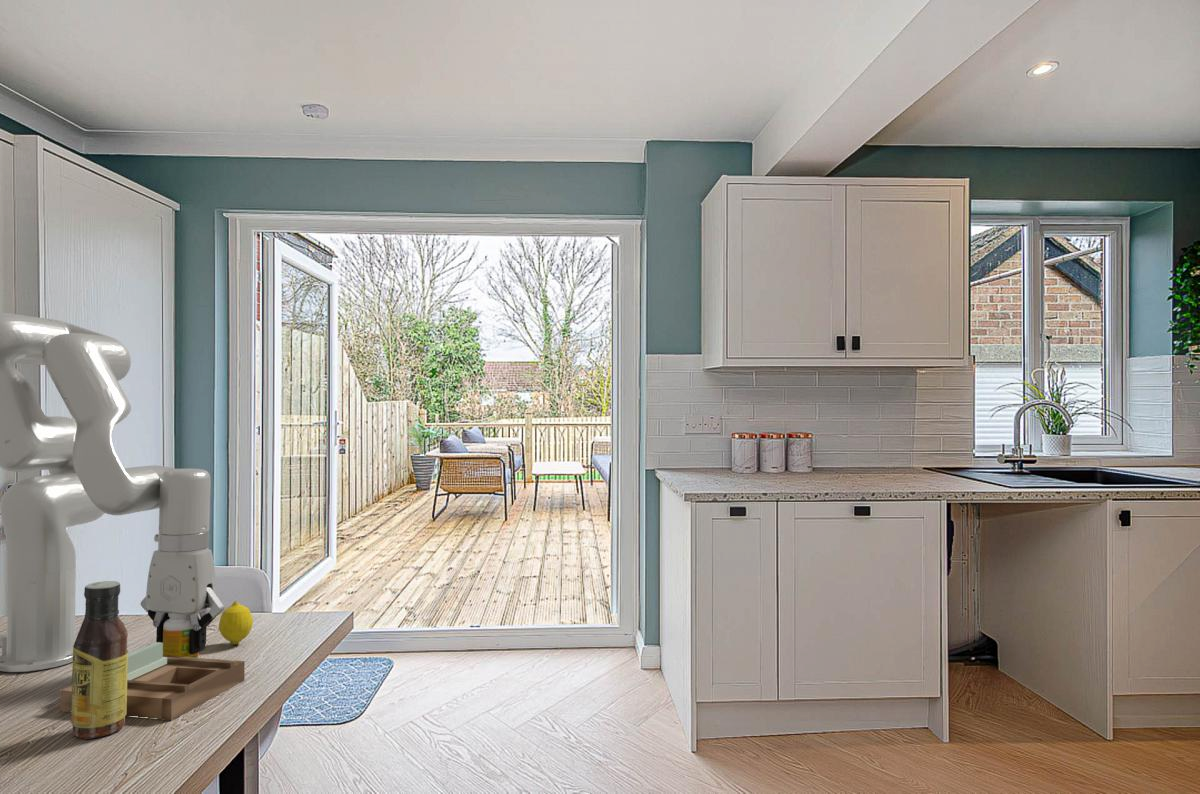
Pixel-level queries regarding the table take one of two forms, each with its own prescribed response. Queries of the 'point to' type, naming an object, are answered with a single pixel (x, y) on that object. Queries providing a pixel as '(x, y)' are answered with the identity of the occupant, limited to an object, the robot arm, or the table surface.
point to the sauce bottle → (100, 665)
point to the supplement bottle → (177, 636)
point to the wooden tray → (175, 686)
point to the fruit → (235, 623)
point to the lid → (145, 660)
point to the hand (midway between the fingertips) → (181, 649)
